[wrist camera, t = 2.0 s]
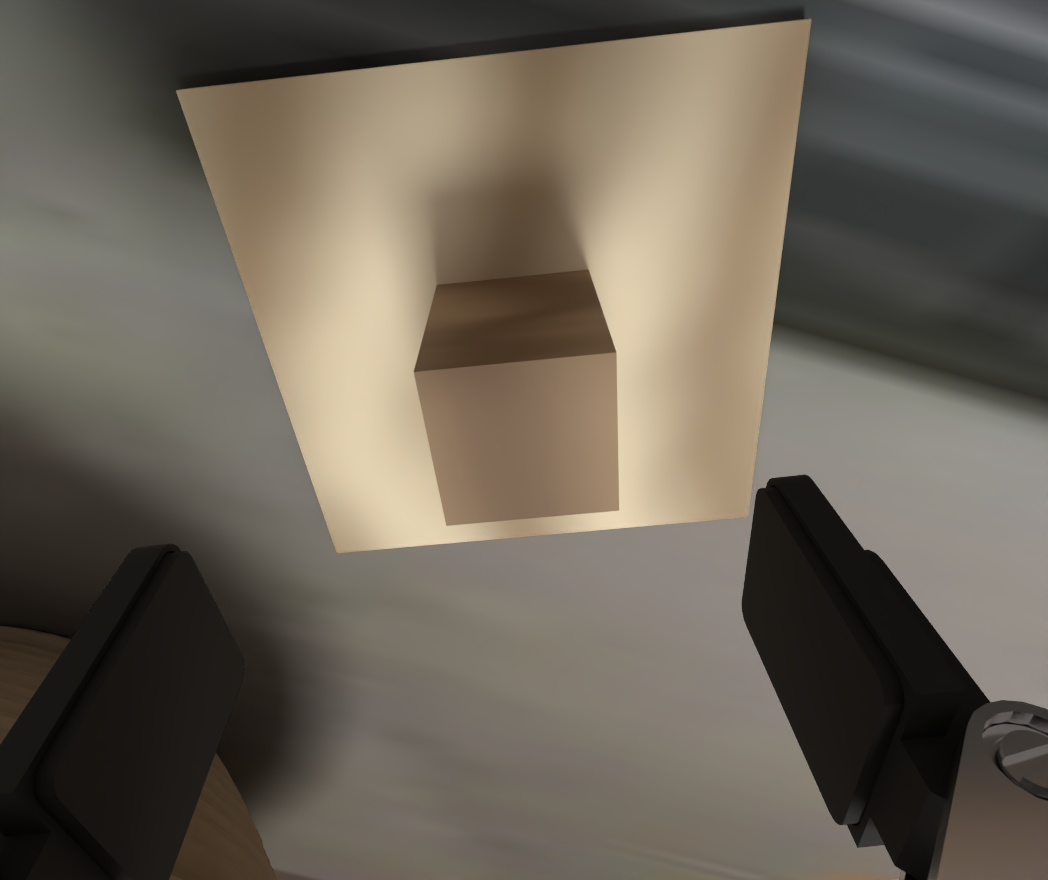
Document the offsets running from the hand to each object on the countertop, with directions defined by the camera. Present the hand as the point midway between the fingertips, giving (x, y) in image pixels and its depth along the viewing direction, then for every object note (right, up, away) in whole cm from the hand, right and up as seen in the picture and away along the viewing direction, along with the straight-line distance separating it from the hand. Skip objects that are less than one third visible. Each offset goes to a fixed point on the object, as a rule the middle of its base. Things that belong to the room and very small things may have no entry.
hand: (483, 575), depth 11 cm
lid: (0, +5, +8) cm, 10 cm away
